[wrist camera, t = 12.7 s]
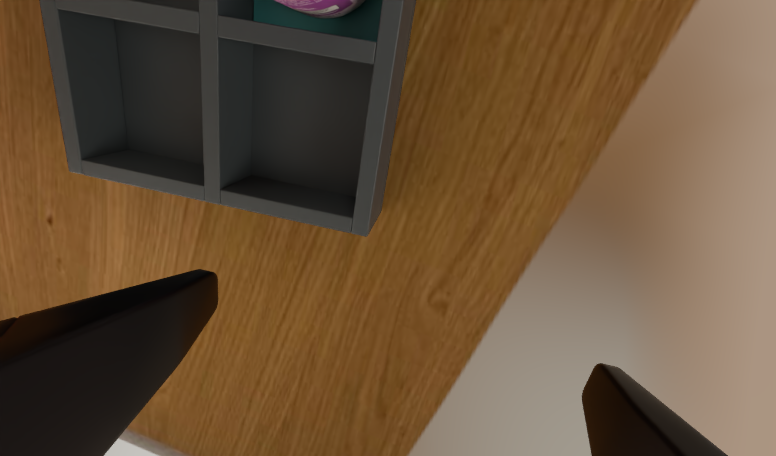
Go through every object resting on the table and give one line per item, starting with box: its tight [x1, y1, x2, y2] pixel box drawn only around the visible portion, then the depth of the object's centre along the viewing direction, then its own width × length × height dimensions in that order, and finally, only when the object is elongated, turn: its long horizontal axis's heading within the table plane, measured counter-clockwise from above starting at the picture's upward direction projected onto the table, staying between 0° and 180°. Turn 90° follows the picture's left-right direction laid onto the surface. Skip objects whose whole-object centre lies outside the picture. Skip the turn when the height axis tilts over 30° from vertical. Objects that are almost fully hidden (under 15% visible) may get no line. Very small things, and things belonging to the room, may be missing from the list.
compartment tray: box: [39, 0, 416, 236], centre depth 17 cm, size 15×15×4 cm
